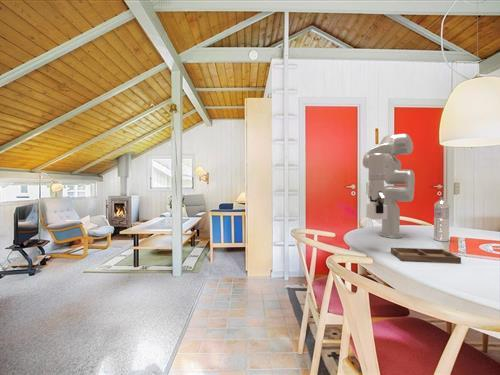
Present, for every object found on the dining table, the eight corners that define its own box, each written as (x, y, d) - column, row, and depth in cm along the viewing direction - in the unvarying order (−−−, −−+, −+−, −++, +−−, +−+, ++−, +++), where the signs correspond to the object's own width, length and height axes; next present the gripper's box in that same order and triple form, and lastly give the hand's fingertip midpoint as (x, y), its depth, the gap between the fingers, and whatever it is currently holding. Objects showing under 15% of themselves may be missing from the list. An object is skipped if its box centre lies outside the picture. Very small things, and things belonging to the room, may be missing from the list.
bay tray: (390, 252, 116) (390, 247, 116) (442, 254, 112) (443, 249, 112) (402, 261, 104) (402, 255, 104) (460, 263, 100) (461, 257, 100)
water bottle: (451, 242, 132) (452, 198, 131) (437, 241, 133) (438, 198, 132) (444, 239, 139) (445, 197, 138) (431, 238, 140) (431, 197, 139)
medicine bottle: (387, 219, 116) (387, 195, 116) (373, 219, 116) (373, 195, 116) (379, 217, 123) (379, 194, 123) (366, 217, 124) (366, 194, 123)
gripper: (363, 177, 128) (363, 209, 129) (374, 178, 111) (374, 214, 112) (378, 177, 127) (378, 209, 128) (392, 177, 110) (391, 214, 111)
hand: (376, 211), depth 120 cm, fingers closed on medicine bottle, 7 cm apart
